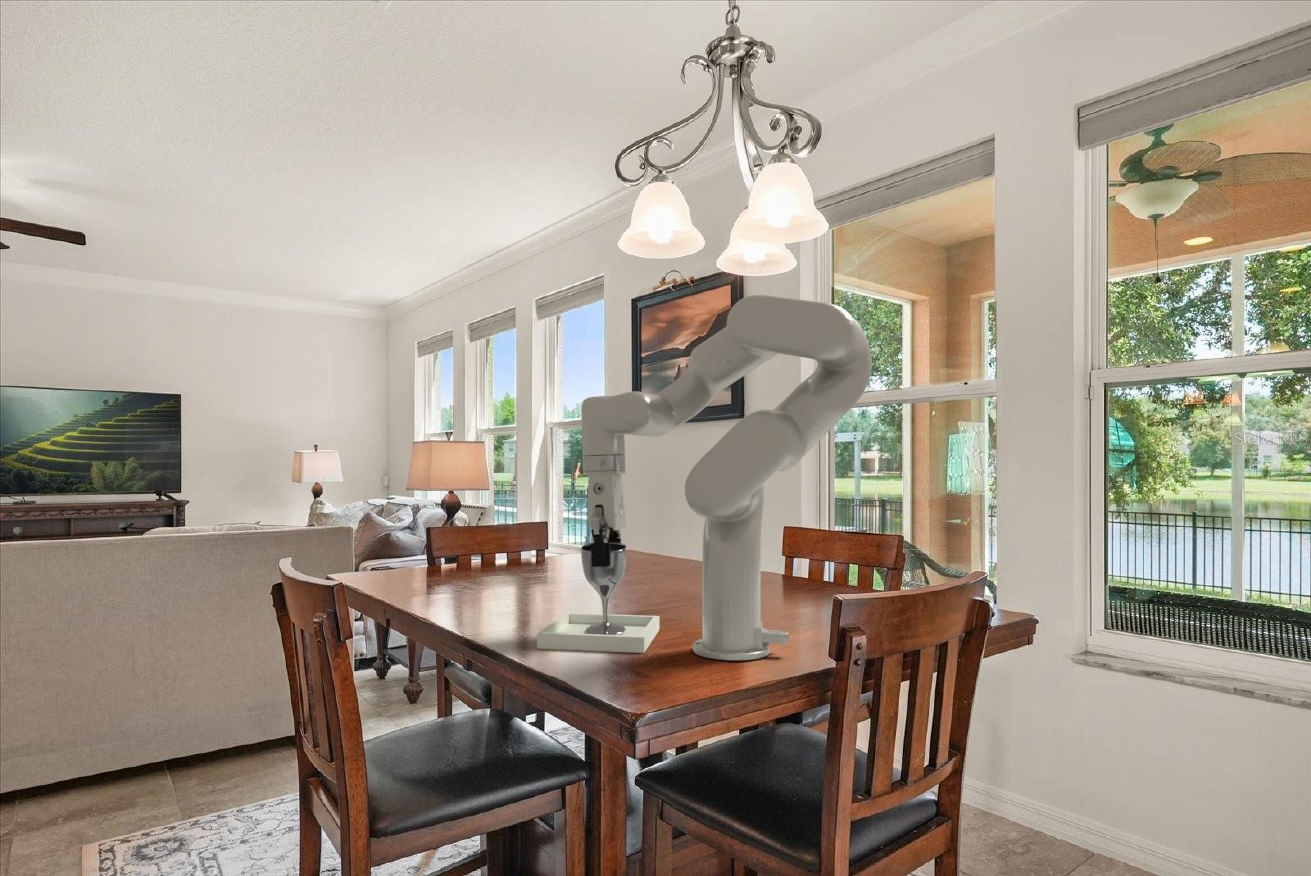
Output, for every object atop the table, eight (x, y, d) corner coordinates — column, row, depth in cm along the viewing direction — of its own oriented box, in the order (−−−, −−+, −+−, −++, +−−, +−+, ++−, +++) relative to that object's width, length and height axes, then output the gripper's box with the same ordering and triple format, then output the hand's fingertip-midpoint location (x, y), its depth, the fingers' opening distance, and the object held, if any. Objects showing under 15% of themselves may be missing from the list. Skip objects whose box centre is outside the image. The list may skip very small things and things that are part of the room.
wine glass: (600, 619, 141) (598, 540, 140) (636, 626, 137) (634, 544, 136) (574, 632, 134) (571, 548, 133) (611, 639, 130) (609, 553, 129)
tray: (659, 629, 142) (659, 616, 142) (644, 653, 124) (644, 637, 124) (565, 626, 144) (565, 612, 144) (537, 648, 126) (537, 633, 127)
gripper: (615, 464, 126) (618, 568, 125) (633, 466, 143) (636, 557, 142) (571, 466, 127) (574, 569, 126) (594, 467, 144) (597, 558, 143)
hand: (607, 563), depth 134 cm, fingers open, 9 cm apart
